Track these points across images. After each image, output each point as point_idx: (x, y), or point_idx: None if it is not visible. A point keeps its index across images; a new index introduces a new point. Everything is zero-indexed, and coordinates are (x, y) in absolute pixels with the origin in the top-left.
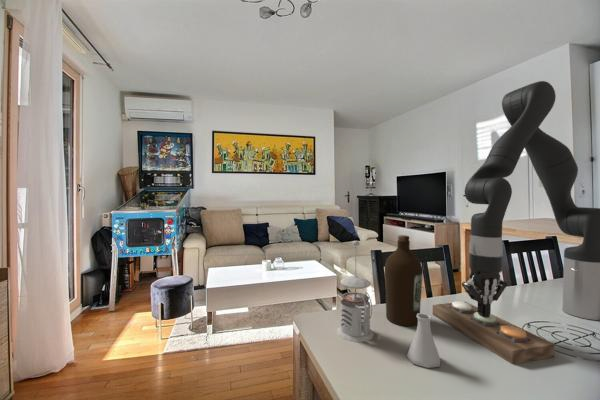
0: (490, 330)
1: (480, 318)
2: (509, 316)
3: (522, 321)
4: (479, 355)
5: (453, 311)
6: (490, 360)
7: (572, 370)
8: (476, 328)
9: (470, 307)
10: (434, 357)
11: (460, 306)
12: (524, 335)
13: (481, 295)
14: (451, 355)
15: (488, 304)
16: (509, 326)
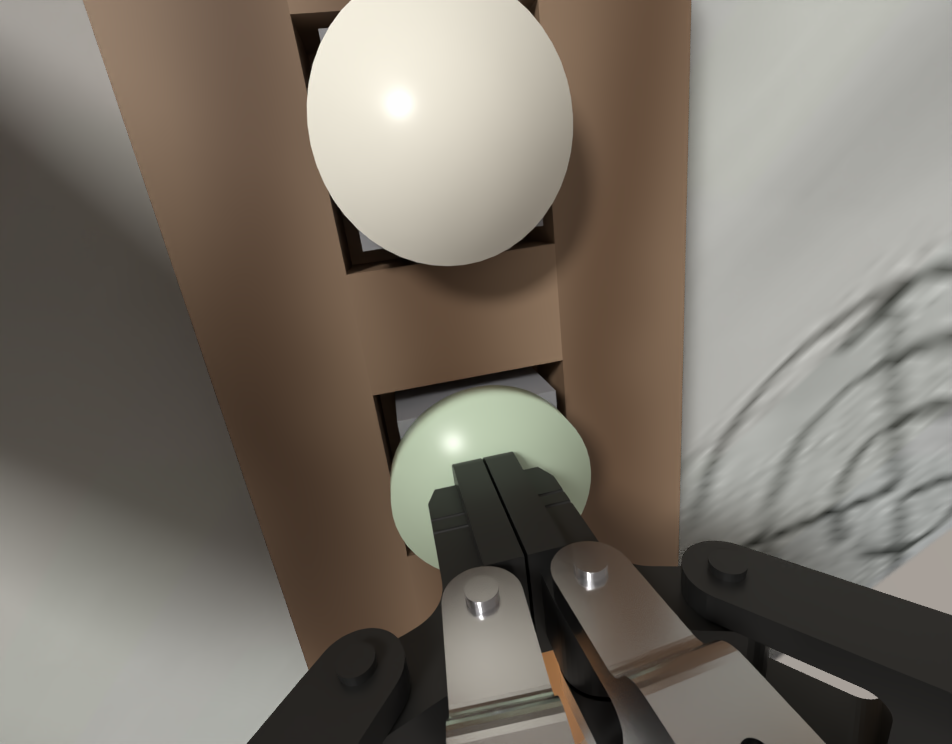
0: (410, 608)
1: (406, 543)
2: (904, 147)
3: (900, 252)
4: (220, 683)
5: (284, 191)
6: (259, 718)
7: None
8: (306, 587)
9: (503, 250)
10: None
11: (380, 201)
12: None
13: (578, 622)
14: (8, 705)
15: (547, 648)
16: (549, 668)
